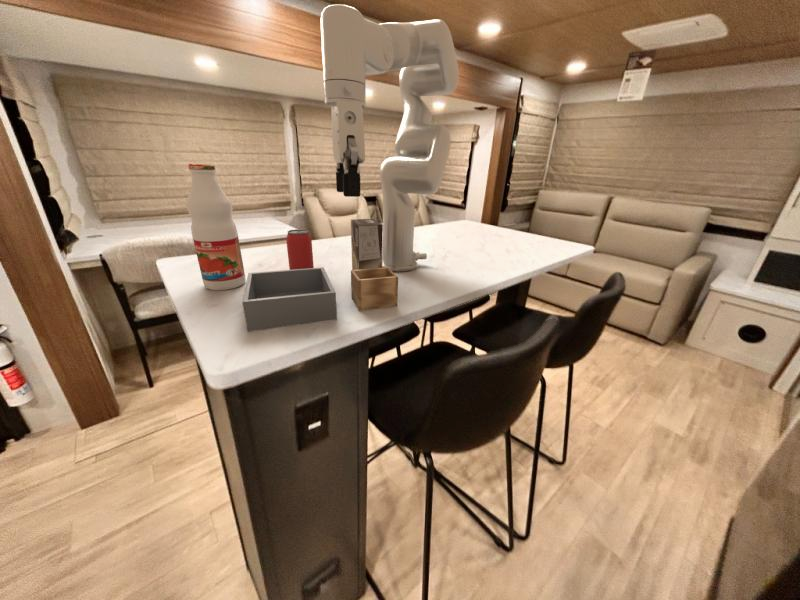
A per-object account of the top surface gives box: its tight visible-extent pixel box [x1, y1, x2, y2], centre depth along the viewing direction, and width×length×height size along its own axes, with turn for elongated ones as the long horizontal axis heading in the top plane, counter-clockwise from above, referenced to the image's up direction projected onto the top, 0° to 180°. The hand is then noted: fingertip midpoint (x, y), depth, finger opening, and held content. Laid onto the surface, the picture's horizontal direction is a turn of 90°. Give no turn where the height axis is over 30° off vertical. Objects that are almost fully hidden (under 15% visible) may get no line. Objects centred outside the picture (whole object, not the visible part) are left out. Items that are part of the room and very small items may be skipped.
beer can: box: [285, 228, 315, 270], centre depth 86 cm, size 7×7×12 cm
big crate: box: [242, 267, 338, 332], centre depth 66 cm, size 17×17×6 cm
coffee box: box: [350, 218, 383, 270], centre depth 81 cm, size 9×6×16 cm
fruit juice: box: [185, 163, 246, 291], centre depth 73 cm, size 9×9×28 cm
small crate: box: [350, 267, 399, 312], centre depth 70 cm, size 9×7×7 cm
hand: (347, 194), depth 64 cm, fingers open, 9 cm apart
